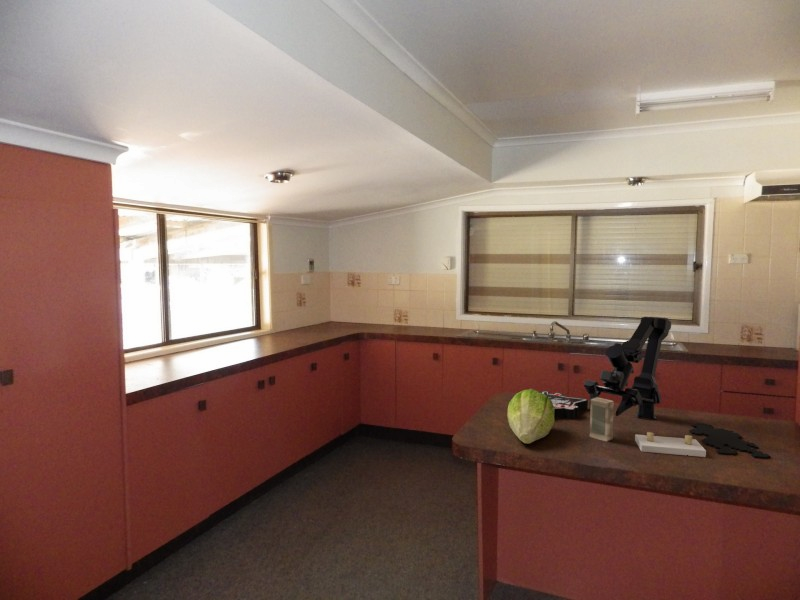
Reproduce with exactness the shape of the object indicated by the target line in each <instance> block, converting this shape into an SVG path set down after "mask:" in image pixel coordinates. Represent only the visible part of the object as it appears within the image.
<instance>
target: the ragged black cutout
mask: <svg viewBox="0 0 800 600" xmlns="http://www.w3.org/2000/svg"><path fill="white" fill-rule="evenodd" d="M691 427H692V428H690V429H688V432H689V433H690V434H691V435H695V436H701V437H702V436H705V437H706V438H703V439H701V442H702V443H703V444H704V445H705V446H709V447H711V448H712V447H713V448H714V449H715V453H717V454H718V455H720V454H721V455H723V456H724V455H725V456H733V457H734V456H736V455H739V454H738V453H739V452H741V453H747V454H750V456H751V457H752V458H753V459H762V460H769V459H771V455H770V454H768V453H764V452H763V451H761V450H759V446H758V445H756V444H755V443H754V442H750V441H745V440H742V439H743V436H742V435H741V434H740V433H738V432H734V431H732V430H729V429H724V428H719V427H718V428H716V427H714V425H712V424H708V423H702V422H701V423H700V422H695V423H692V424H691ZM693 427H694V428H693Z"/></svg>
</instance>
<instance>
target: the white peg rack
mask: <svg viewBox="0 0 800 600" xmlns="http://www.w3.org/2000/svg"><path fill="white" fill-rule="evenodd" d="M634 441H635V443H636V445H637V446H638V448H639V450H640V452H645V453H655V454H665V455H666V454H667V455H678V456H687V455H688V456H691V457H701V458H706V456H707V450H706V449H705V448H704V447H703V446H702V444H701V443H700V442H699V441H698V440H697V439H694V438H693V436H692V435H690V434H685V435H684V438H682V437H671V436H670V437H669V436H659V435H655V433H654V432H651V431H647V432H646V434H636V433H635V435H634Z"/></svg>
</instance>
